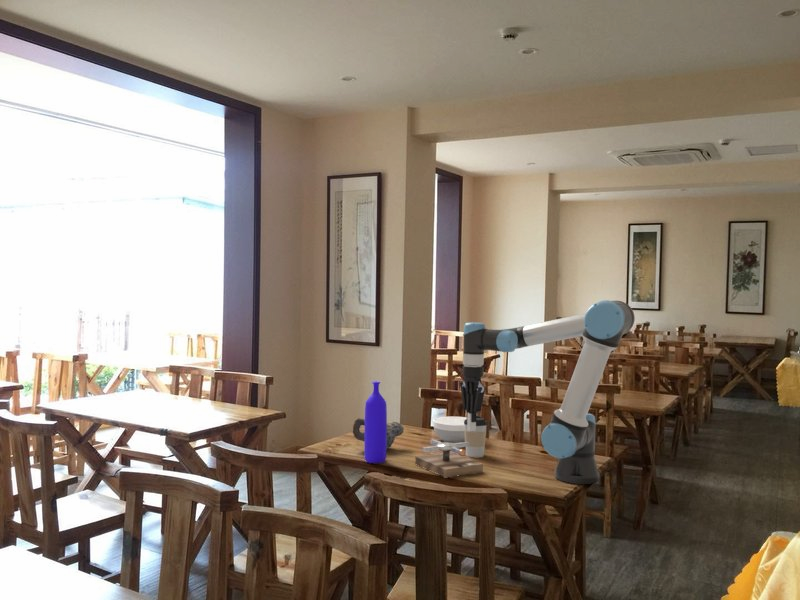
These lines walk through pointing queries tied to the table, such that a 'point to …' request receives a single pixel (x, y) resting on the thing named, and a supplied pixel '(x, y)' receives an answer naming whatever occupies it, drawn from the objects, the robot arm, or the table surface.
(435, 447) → the capstan
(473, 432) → the coffee cup
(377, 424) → the bottle
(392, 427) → the teapot
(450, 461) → the level stand
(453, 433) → the bowl
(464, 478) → the table surface
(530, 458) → the table surface
